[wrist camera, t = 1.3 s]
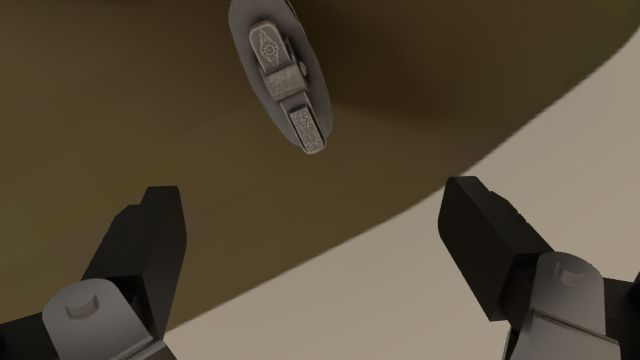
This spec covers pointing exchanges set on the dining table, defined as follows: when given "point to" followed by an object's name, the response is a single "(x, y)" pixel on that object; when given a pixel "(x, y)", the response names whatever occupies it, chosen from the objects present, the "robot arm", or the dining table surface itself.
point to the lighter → (283, 70)
